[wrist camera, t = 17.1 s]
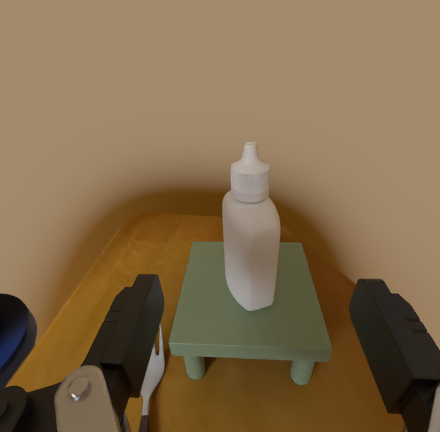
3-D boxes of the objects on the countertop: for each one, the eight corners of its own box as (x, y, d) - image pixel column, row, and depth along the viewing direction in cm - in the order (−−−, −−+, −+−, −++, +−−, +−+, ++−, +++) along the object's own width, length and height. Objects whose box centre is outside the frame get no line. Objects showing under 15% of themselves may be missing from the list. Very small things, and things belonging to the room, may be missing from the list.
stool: (179, 384, 21) (167, 343, 18) (198, 281, 30) (192, 241, 27) (318, 392, 20) (333, 349, 17) (294, 283, 30) (301, 241, 26)
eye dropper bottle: (276, 264, 24) (289, 130, 17) (272, 317, 19) (289, 163, 13) (228, 258, 25) (223, 129, 18) (214, 308, 20) (201, 160, 14)
